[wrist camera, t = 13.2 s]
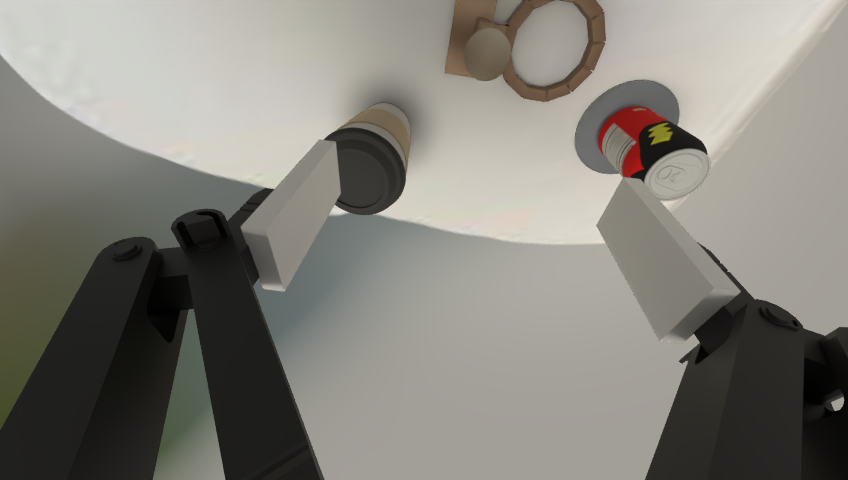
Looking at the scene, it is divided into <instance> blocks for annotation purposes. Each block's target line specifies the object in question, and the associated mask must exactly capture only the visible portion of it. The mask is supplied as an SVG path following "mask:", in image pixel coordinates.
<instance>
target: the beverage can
mask: <svg viewBox="0 0 848 480" xmlns="http://www.w3.org/2000/svg"><path fill="white" fill-rule="evenodd" d="M598 147H599V150H600V151H601V153H602V154H603V155H604V156H605V158H606V159H607V160H608V161H609V162H610V163H611V164H612V166H613V167H614V168H615V169H616V170H617V171H618V172H619V174H620V175H621V176H622V177H626V178H635V179H641V180H642V182H643V183H644V184H645V185H646V186H647V187H648V188H649V189H650V190H651V192H652V193H653V194H654V195H655V196H656V197H657V198H658V199H659V201H673V200H677V199H680V198H683V197H685V196H687V195H689V194H691V193H692V192H694V191H695V190H697V189H698V188H699V187H700V186H701V185H702V184H703V183H704V182H705V180H706V179H707V177H708V175H709V173H710V170H711V161H710V158H709V157H708V156H707V150H706V147H705V146H704V144H703V143H702V141H700V140H699V139H698V138H696V137H695V136H693V135H691V134H690V133H688V132H686V131H685V130H683V129H682V128H680V127H678V126H677V125H675V124H673V123H672V122H670V121H668V120H667V119H665V118H664V117H662V116H660V115H659V114H657V113H655V112H654V111H652V110H651V109H649V108H646V107H642V106H633V107H628V108H625V109H622V110H620V111H618V112H617V113H615V114H614V115H612V116H611V117H610V118H609V119H608V120H607V121H606V122H605V123H604V125H603V126H602V128H601V130H600V132H599V136H598Z"/></svg>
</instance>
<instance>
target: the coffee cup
mask: <svg viewBox="0 0 848 480" xmlns="http://www.w3.org/2000/svg"><path fill="white" fill-rule="evenodd" d="M410 136H411V127H410V123H409V120H408V118H407V116H406V115H405V114H404V112H403V111H402V110H400V109H399V108H398V107H396V106H394V105H392V104H388V103H378V104H375V105H373V106H371V107H369V108H368V109H367V110H365V111H363V112H361V113H360V114H358V115H357V116H355V117H354V118H353V119H351V120H350V121H348V122H347V123H346V124H344V125H343V126H341V127H340V128H339V129H337V130H336V131H335V132H333V133H331V134H330V135H328V136H327V137H326V138H325V139H324V140H326V141H335V142H336V148H337V159H338V169H339V179H340V189H341V194H340V196H339V198H338V199H337V201H336V203H335V205H336V206H338V207H339V208H341V209H343V210H345V211H347V212H350V213H353V214H358V215H370V214H376V213H379V212H381V211H383V210H385V209H386V208H388V207H389V206H390V205H392V204H393V203H394V202H395V201H396V200H397V199H398V198H399V197H400V195H401V194H402V192H403V189H404V186H405V181H406V172H407V165H408V157H409V150H410Z"/></svg>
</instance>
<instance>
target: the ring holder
mask: <svg viewBox="0 0 848 480" xmlns="http://www.w3.org/2000/svg"><path fill="white" fill-rule="evenodd" d="M551 1H554V0H524V1H523V2H522V3H521V4H520V6H519V7H518V8H517V9H516V11H515V12H514V13H513V15H512V16H511V17H510V18H509V20H508V21H507V22H506V23H507V24H508V25H500V24H494V23H492V21H493V16H494V12H495V7H496V3H497V0H456V5H455V11H454V17H453V24H452V30H451V36H450V43H449V49H448V55H447V62H446V68H445V73H448V74H454V75H460V76H466V77H472V78H475V79H477V80H480V81H490V80H493V79H495V78H497V77H498V76H500V75H501V74H502V73H503V76H504V79H505V81H506V83H507V84H508V85H509V86H510V87H511V88H513V89H514V90H515V91H516V92H517V93H518V94H519V95H520V96H521V97H523V98H525V99H530V100H536V101H542V102H545V100H546V101H547V102H548V101H550V100H553V99H556V98H559V97H561V96H564V95H567V94H570V91H571V92H573V91H574V90H575V89H576V88H577V87H578V86H579V85H580V84H581V83H582V82H583V81H584V80H585V79H586V78H587V77H588V76H589V75H590V74H591V73H592V71H591V70H594V69H595V66H596V64H597V62H598V59H599V57H600V54H601V52H602V50H603V47H604V45H605V43H604V41H606V35H605V18H604V12H602V11H603V9H602V8H601V6H600V5H599V4H598V3H597V1H596V0H561V1H567V2H573V3H574V4H575V5H576V6H577V7H578V9H579V10H580V11H581V12H582V13H583V15H584V16H585V17H586V18H587V26H588V38H589V42H588V45H587V47H586V50H585V52H584V55H583V58H582V60H581V63H580V64H579V65H578V67H577V68H576V69H575V70H574V71H573V72H572V73H571V74H570V75H569V76H568V77H567V78H566V79H565V80H564V81H561V82H559V83H556V84H553V85H551V86H548V87H545V88H541V87H535V86H530V85H526V84H525V83H524V82H523V81H522V80H521V79H520V78H519V77H518V76H517V75H516V74H515V73H514V68H513V63H512V59H511V50H512V47H513V43H514V39H515V35H516V32H517V29H518V28H519V27H520V26H521V24H522V23H523V22H524V21H525V20H526V18H527V17H528V16H529V15H530V13H531V12H532V11H533V10H534V9H536V8H538V7H540V6H543V5H545V4H547V3H549V2H551Z"/></svg>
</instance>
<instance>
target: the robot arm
mask: <svg viewBox="0 0 848 480" xmlns="http://www.w3.org/2000/svg"><path fill="white" fill-rule="evenodd" d="M340 194H341V189H340V179H339V169H338V159H337V148H336V142H335V141H326V140H319V141H318V142H317V143H316V144H315V145H314V146H313V147H312V148H311V149H310V151H309V152H308V153H307V154H306V155H305V156H304V157H303V158H302V159H301V160H300V162H299V163H298V164H297V165H296V166H295V167H294V168H293V169H292V170H291V172H290V173H289V174H288V175H287V176H286V177H285V178H284V179H283V180H282V181H281V183H280V184H279V185H278V186H277V187H276V188H275V189H269V188H265V189H263V190H261V191H259V192H257V193H256V194H254V195H253V196H252V197H251V198H250V199H249V200H248V201H247V202H246V204H244V205H243V206H242V207H241V208H240V210H238V211H237V212H236V213H235V214H234V215H233V216H232V217H231V218H230V219H229V220H228V221H227V220H226V218H225V216H224V215H223V213H222V212H221V211H218V210H215V209H201V210H195V211H192V212H188V213H186V214H184V215H182V216H180V217H178V218H177V219H176V220H175V221H174V222H173V223H172V226H171V230H172V232H173V233H174V235H175V237H176V239H177V241H178V242H179V244H180V246H181V247H176V248H165V249H158V247H157V246H156V244H155V242H153V240H151V239H150V238H146V237H132V238H127V239H123V240H120V241H118V242H115V243H113V244H111V245H109V246H108V247H106V248H104V249H103V250H102V251H101V252H100V253H99V254H98V256H97V257H96V259H95V261H94V263H93V265H92V266H91V268H90V270H89V272H88V274H87V275H86V277H85V279H84V281H83V283H82V284H81V286H80V288H79V290H78V292H77V293H76V295H75V297H74V299H73V301H72V302H71V304H70V306H69V308H68V310H67V311H66V313H65V315H64V317H63V319H62V321H61V322H60V324H59V326H58V328H57V329H56V331H55V333H54V335H53V336H52V338H51V340H50V342H49V344H48V345H47V347H46V349H45V351H44V353H43V354H42V356H41V358H40V360H39V362H38V364H37V365H36V367H35V369H34V371H33V373H32V374H31V376H30V378H29V380H28V381H27V383H26V385H25V387H24V389H23V390H22V392H21V394H20V396H19V398H18V399H17V401H16V403H15V405H14V407H13V409H12V410H11V412H10V414H9V416H8V418H7V419H6V421H5V423H4V425H3V427H2V428H1V430H0V480H153V475H154V470H155V466H156V461H157V456H158V452H159V447H160V442H161V437H162V432H163V427H164V423H165V418H166V413H167V409H168V404H169V399H170V394H171V390H172V385H173V381H174V376H175V371H176V366H177V362H178V357H179V352H180V347H181V343H182V338H183V333H184V329H185V323H186V319H187V314H188V310H189V309H194V312H195V317H196V322H197V328H198V334H199V339H200V345H201V349H202V355H203V361H204V366H205V372H206V377H207V382H208V388H209V393H210V399H211V404H212V409H213V414H214V420H215V425H216V431H217V436H218V442H219V447H220V452H221V458H222V463H223V469H224V474H225V479H226V480H324V478H323V475H322V472H321V469H320V467H319V464H318V461H317V458H316V456H315V453H314V450H313V448H312V445H311V442H310V440H309V437H308V434H307V431H306V429H305V426H304V423H303V421H302V418H301V415H300V413H299V410H298V407H297V404H296V402H295V399H294V396H293V393H292V391H291V388H290V385H289V383H288V380H287V377H286V375H285V372H284V369H283V366H282V364H281V361H280V358H279V356H278V353H277V350H276V347H275V345H274V342H273V340H272V337H271V334H270V331H269V329H268V326H267V323H266V321H265V318H264V315H263V312H262V310H261V307H260V304H259V301H258V299H257V296H256V294H255V291H254V288H253V285H254V284H255V283H256V281H257V280H258V278H259V279H260V281H261V284H262V287H263V289H269V290H277V291H285V290H286V288H287V286H288V285H289V283H290V281H291V279H292V278H293V276H294V274H295V272H296V271H297V269H298V267H299V265H300V264H301V262H302V260H303V258H304V257H305V255H306V253H307V252H308V249H309V248H310V246H311V244H312V243H313V241H314V239H315V238H316V236H317V234H318V232H319V231H320V229H321V227H322V225H323V224H324V222H325V220H326V218H327V217H328V215H329V213H330V211H331V210H332V208H333V206H334V204H335V203H336V201H337V199H338V198H339V196H340ZM596 226H597V228H598V229H599V231H600V233H601V235H602V237H603V239H604V240H605V242H606V244H607V246H608V248H609V250H610V251H611V253H612V255H613V257H614V259H615V261H616V262H617V264H618V266H619V268H620V270H621V271H622V273H623V275H624V277H625V279H626V280H627V283H628V284H629V286H630V288H631V290H632V292H633V293H634V295H635V297H636V299H637V301H638V303H639V304H640V306H641V308H642V310H643V312H644V313H645V315H646V317H647V319H648V321H649V323H650V325H651V326H652V328H653V330H654V332H655V334H656V335H657V337H658V339H659V341H663V342H670V343H678V344H683V343H684V342H685V341H686V340H687V339H688V338H689V337H690V336H692V335H693V334H695V336H696V337H697V339H698V340H699V342H700V343H699V344H698V345H697V346H696V347H694V348H693V349H692V350H691V351H690V352H689V353H687V354H686V355H685V356H684V357H683V358H682V359H681V360H680V361H679V362H680V363H684V362H685V361H688V364H687V366H686V369H685V372H684V375H683V378H682V380H681V383H680V386H679V388H678V391H677V394H676V397H675V399H674V402H673V405H672V407H671V411H670V413H669V416H668V418H667V421H666V424H665V427H664V429H663V432H662V435H661V438H660V440H659V443H658V446H657V449H656V451H655V454H654V457H653V459H652V462H651V465H650V468H649V470H648V473H647V476H646V479H645V480H848V327H839V328H837V329H836V330H834V331H833V332H831V333H829V334H828V335H826V336H824V335H821V334H818V333H815V332H812V331H809V330H806V329H804V328H803V326H802V324H801V323H800V322H799V321H798V320H797V319H796V318H795V317H794V316H793V315H791V314H790V313H789V312H788V311H786V310H784V309H782V308H781V307H779V306H777V305H775V304H772V303H770V302H767V301H763V300H758V299H756V300H755V299H754V298H753V297H752V296H751V295H750V294H749V293H748V292H747V291H746V289H745V288H744V287H743V286H742V285H741V284H740V283H739V282H738V281H737V280H736V279H735V277H734V276H733V275H732V274H731V273H730V272H727V269H726V268H725V267H724V266H723V264H721V263H720V261H719V260H718V259H717V258H716V257H715V256H714V255H713V254H712V252H711V251H709V250H708V249H706V248H705V247H704V246H702V245H701V244H699V243H698V242H696V241H695V240H694V238H693V237H692V236H691V235H690V234H689V233H688V232H687V231H686V230H685V228H683V226H682V225H681V224H680V223H679V222H678V221H677V220H676V218H675V217H674V216H673V215H672V214H671V213H670V212H669V211H668V209H667V208H666V207H665V206H664V205H663V204H662V203H661V202H660V201H659V199H658V198H657V197H656V196H655V195H654V194H653V193H652V192H651V190H650V189H649V188H648V187H647V186H646V185H645V184H644V183H643V182H642V180H641V179H635V178H626V177H623V179H622V180H621V182H620V184H619V186H618V188H617V189H616V191H615V193H614V195H613V197H612V198H611V200H610V202H609V204H608V206H607V207H606V209H605V211H604V213H603V215H602V216H601V218H600V220H599V222H598V224H597V225H596ZM843 396H844V404H843V407H842V408H841V409H840V410H838V411H834V409H833V407H832V404H831V402H832V401H835V400H837V399H839V398H841V397H843Z"/></svg>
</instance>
